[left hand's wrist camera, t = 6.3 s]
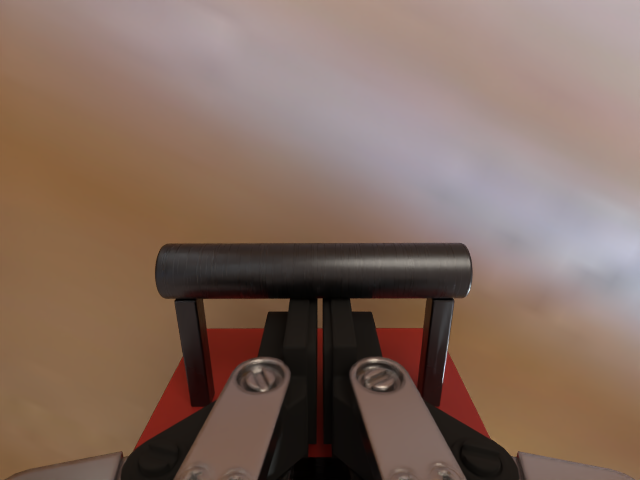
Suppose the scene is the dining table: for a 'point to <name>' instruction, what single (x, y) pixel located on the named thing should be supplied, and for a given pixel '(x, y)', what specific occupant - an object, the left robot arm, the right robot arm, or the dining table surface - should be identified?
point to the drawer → (317, 282)
